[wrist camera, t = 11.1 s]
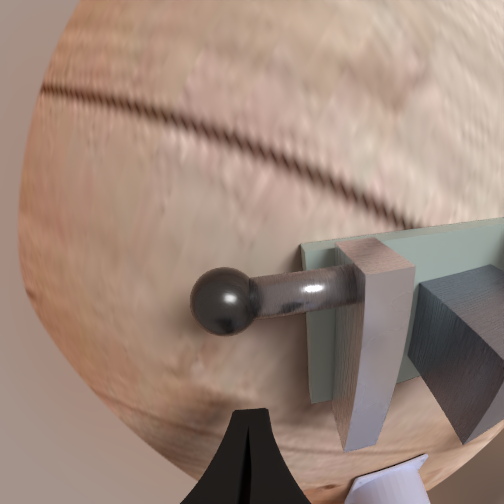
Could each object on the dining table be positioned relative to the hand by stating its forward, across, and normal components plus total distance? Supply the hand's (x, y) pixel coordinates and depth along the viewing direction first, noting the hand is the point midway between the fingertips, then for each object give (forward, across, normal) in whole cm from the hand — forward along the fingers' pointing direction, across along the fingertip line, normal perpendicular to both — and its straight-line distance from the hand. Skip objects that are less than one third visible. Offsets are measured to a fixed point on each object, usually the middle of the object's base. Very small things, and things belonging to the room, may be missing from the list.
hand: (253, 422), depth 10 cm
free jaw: (+2, -2, -3) cm, 4 cm away
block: (+2, -10, -2) cm, 11 cm away
